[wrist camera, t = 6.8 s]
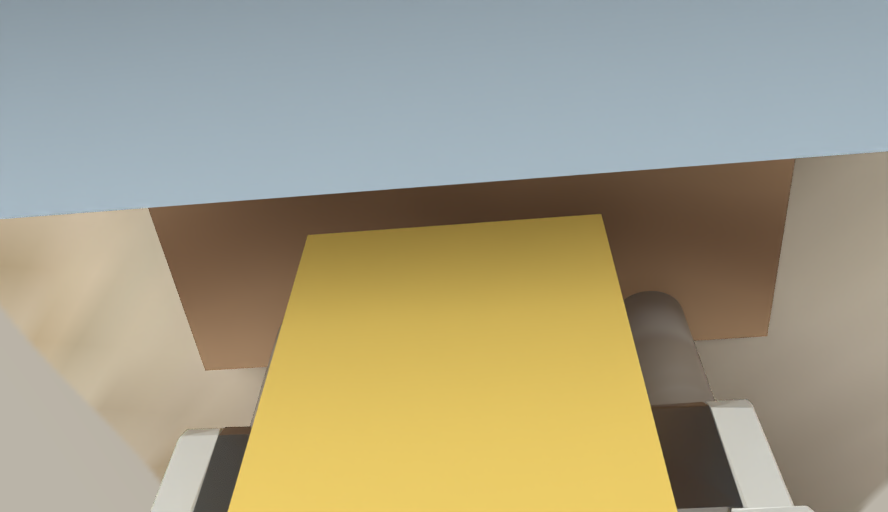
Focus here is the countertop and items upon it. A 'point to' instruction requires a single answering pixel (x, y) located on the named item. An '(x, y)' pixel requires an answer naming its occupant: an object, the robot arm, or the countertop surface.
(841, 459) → the countertop surface
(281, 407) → the yellow block
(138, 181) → the cover
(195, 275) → the peg board
